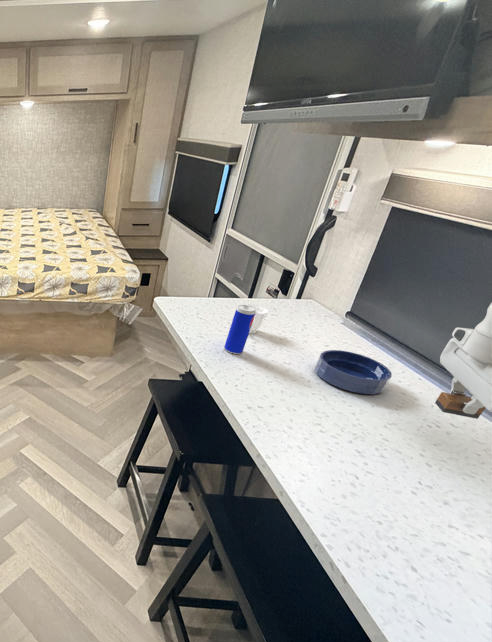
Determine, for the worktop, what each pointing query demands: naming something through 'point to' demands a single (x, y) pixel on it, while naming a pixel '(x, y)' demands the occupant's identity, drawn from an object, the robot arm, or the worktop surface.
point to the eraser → (455, 404)
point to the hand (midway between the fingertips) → (460, 404)
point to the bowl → (352, 372)
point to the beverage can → (240, 329)
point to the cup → (258, 318)
